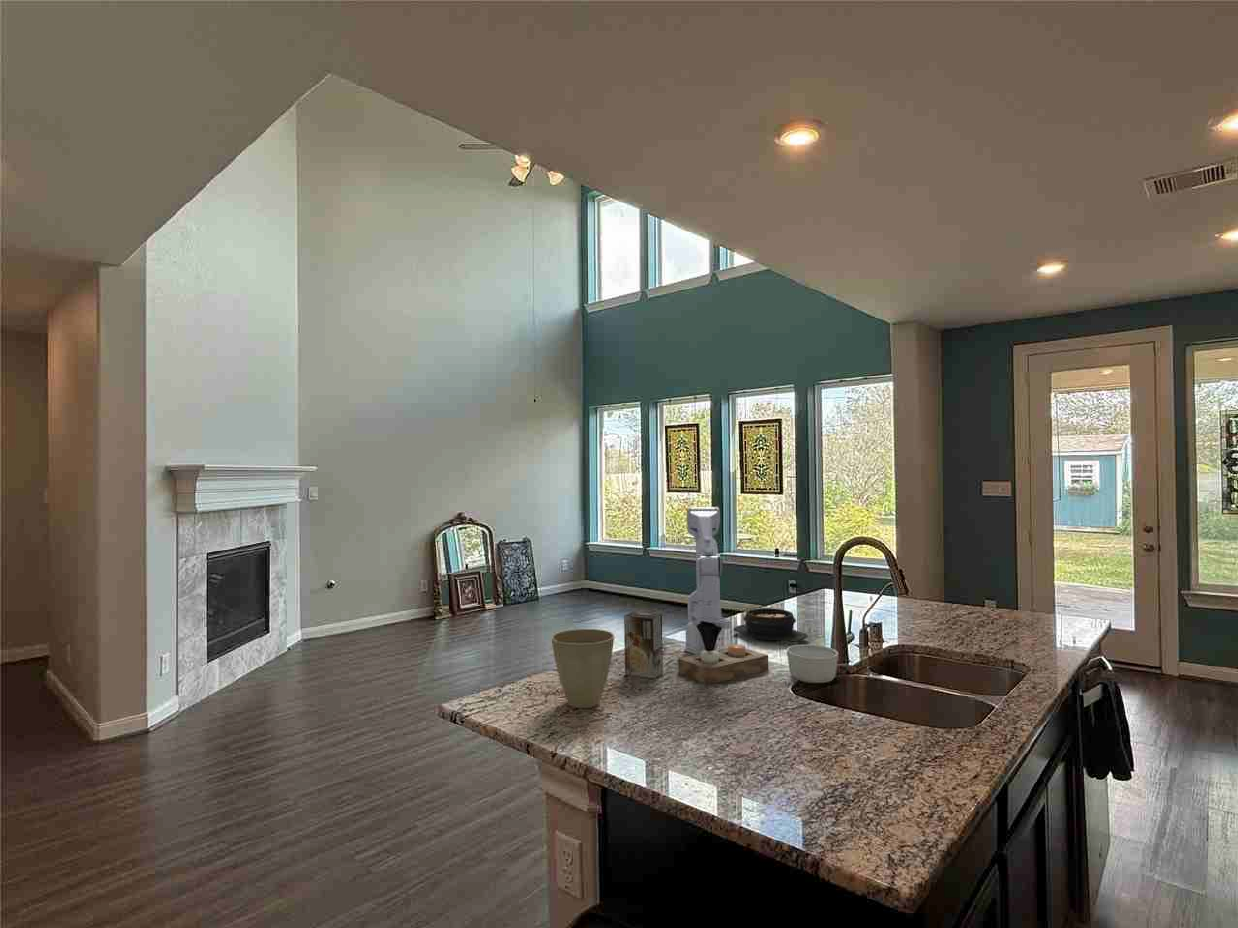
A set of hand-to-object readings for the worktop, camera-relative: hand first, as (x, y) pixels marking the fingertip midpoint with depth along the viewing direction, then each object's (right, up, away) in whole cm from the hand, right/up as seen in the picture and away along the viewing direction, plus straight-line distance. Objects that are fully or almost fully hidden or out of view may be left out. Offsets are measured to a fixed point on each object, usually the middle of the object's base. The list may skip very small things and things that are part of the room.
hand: (709, 650), depth 176 cm
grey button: (0, -4, 0) cm, 4 cm away
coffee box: (-18, -7, +1) cm, 19 cm away
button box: (+4, -6, +3) cm, 8 cm away
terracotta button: (+8, -4, +6) cm, 11 cm away
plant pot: (-33, -7, -21) cm, 40 cm away
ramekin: (+27, -7, -3) cm, 28 cm away
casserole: (+25, -7, +38) cm, 46 cm away
